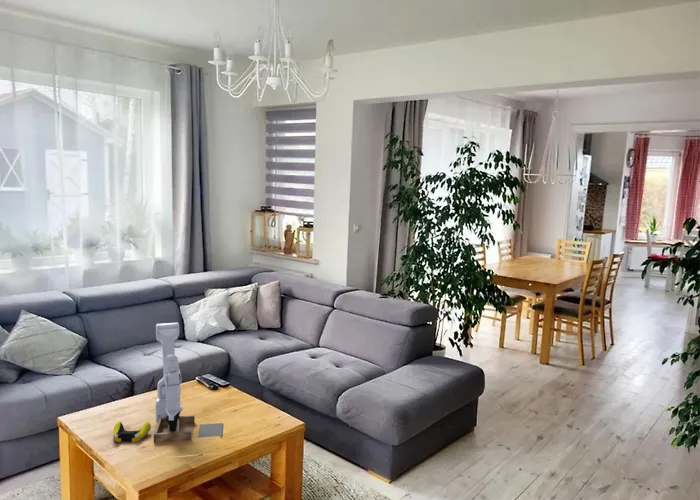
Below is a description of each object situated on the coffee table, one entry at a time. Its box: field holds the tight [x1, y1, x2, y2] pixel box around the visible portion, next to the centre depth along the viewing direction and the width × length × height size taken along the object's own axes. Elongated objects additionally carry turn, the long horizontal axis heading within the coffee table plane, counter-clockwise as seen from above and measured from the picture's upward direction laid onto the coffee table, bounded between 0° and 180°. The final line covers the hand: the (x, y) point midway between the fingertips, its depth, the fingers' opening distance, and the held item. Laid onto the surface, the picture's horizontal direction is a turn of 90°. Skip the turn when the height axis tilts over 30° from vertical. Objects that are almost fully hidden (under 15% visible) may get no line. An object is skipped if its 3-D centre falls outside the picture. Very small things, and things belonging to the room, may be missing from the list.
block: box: [168, 419, 179, 432], centre depth 228 cm, size 4×4×6 cm
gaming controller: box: [112, 421, 152, 443], centre depth 224 cm, size 15×6×10 cm
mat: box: [197, 422, 224, 438], centre depth 232 cm, size 10×12×1 cm
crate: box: [153, 414, 196, 443], centre depth 229 cm, size 15×16×4 cm
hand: (173, 428), depth 229 cm, fingers closed on block, 4 cm apart
